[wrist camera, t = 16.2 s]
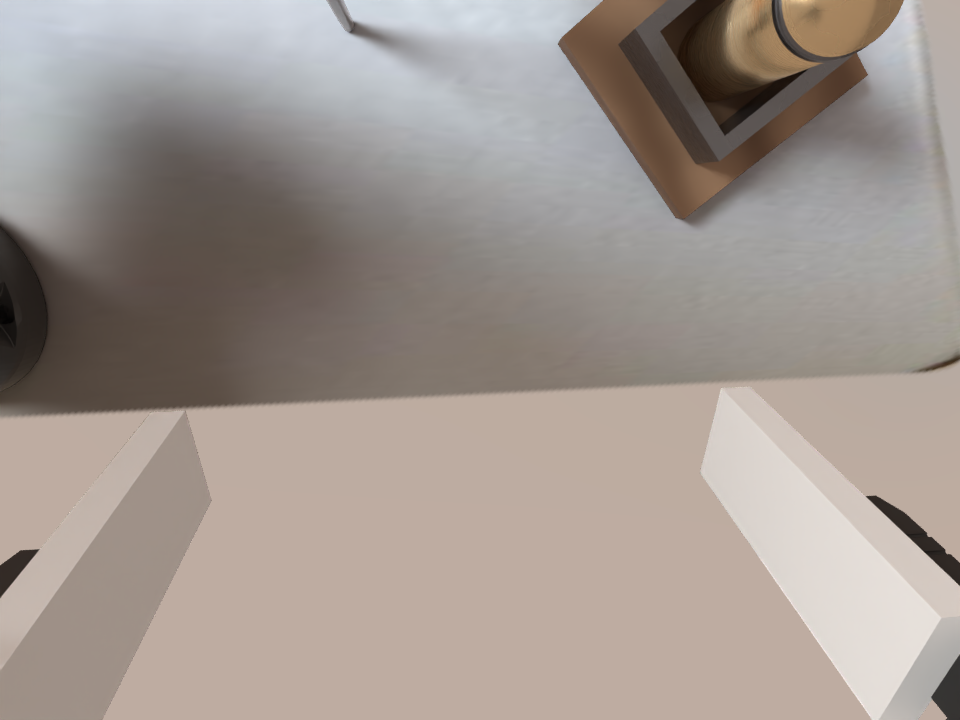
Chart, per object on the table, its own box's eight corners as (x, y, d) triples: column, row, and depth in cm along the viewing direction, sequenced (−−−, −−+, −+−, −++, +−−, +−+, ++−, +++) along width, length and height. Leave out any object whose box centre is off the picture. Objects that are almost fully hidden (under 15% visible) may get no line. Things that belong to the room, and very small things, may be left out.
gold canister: (703, 121, 35) (822, 83, 23) (659, 50, 34) (763, -27, 22) (773, 65, 34) (932, -2, 23) (731, -10, 33) (876, -121, 21)
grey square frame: (695, 164, 36) (719, 161, 32) (617, 44, 33) (635, 28, 30) (814, 68, 34) (852, 55, 31) (742, -64, 32) (774, -94, 29)
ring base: (675, 217, 38) (684, 218, 37) (557, 43, 35) (561, 37, 33) (851, 79, 36) (867, 75, 34) (744, -123, 32) (757, -137, 31)
